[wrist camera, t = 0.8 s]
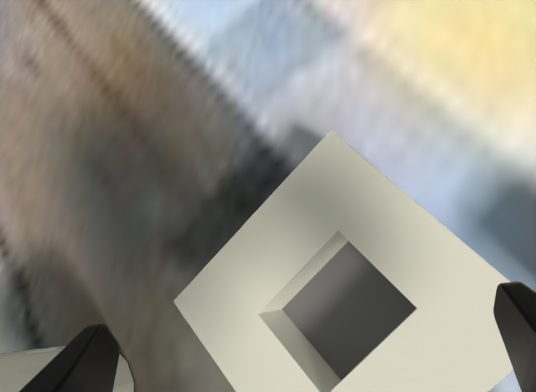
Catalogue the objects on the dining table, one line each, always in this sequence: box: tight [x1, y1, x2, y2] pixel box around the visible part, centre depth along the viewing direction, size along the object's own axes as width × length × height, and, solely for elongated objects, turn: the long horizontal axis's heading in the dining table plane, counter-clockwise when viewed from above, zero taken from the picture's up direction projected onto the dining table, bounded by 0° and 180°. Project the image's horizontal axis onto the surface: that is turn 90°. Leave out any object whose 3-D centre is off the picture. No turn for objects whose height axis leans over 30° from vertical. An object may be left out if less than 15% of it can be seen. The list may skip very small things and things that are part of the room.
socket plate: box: [173, 130, 513, 392], centre depth 21 cm, size 13×13×5 cm
